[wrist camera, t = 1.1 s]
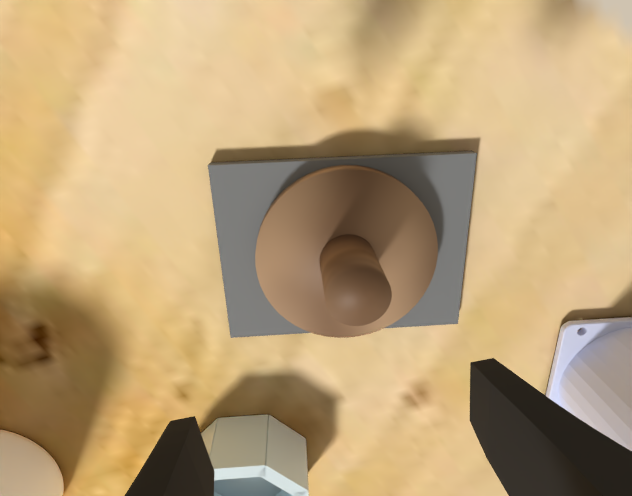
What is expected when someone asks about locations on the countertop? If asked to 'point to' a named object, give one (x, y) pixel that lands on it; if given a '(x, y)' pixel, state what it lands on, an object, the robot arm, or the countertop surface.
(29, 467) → the mug
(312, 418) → the countertop surface
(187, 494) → the robot arm
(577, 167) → the countertop surface
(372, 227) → the lid
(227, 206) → the mat
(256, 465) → the bowl
